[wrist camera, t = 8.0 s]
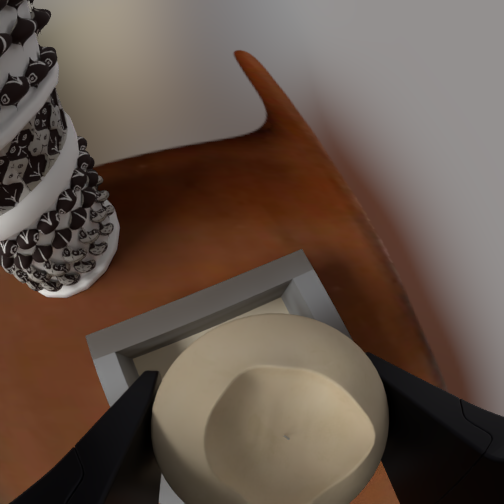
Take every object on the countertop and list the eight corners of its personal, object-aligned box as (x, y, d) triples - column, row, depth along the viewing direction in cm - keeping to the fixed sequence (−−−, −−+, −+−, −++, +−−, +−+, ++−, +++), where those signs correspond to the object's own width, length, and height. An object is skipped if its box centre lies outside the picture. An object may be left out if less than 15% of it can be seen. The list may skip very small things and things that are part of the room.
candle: (308, 364, 15) (432, 314, 6) (290, 466, 12) (393, 550, 3) (200, 345, 14) (171, 265, 6) (179, 448, 12) (116, 534, 3)
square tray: (382, 436, 15) (419, 443, 11) (190, 530, 11) (184, 562, 8) (290, 261, 19) (307, 230, 16) (96, 340, 16) (67, 325, 12)
